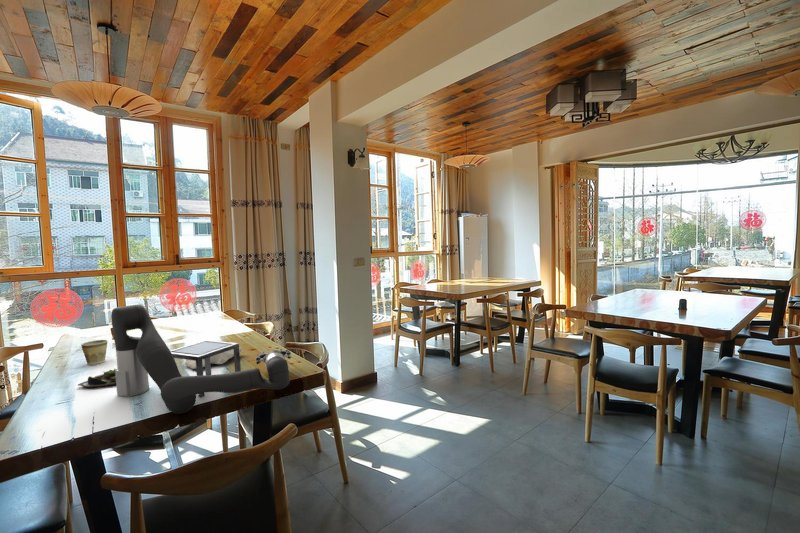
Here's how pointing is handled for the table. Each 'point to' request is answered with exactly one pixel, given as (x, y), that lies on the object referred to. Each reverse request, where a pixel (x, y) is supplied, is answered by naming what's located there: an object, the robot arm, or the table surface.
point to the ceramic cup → (95, 351)
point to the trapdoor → (201, 348)
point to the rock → (213, 359)
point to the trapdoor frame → (207, 357)
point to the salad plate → (101, 380)
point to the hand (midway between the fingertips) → (272, 352)
